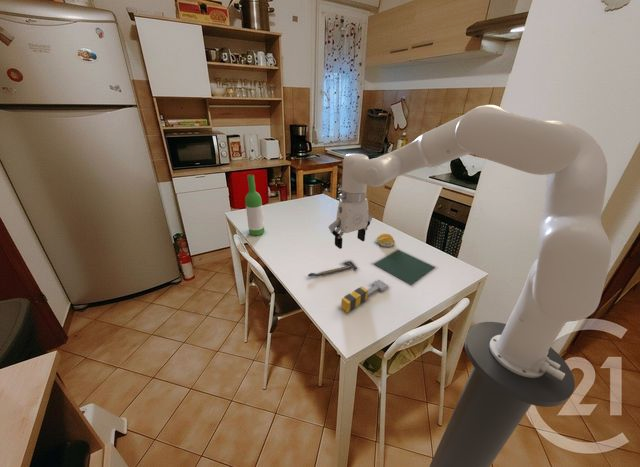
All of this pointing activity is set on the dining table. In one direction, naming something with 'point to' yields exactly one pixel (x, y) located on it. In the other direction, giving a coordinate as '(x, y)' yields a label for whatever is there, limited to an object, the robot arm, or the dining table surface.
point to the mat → (404, 266)
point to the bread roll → (385, 240)
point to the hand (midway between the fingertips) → (349, 243)
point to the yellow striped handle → (360, 295)
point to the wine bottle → (254, 209)
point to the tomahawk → (334, 270)
